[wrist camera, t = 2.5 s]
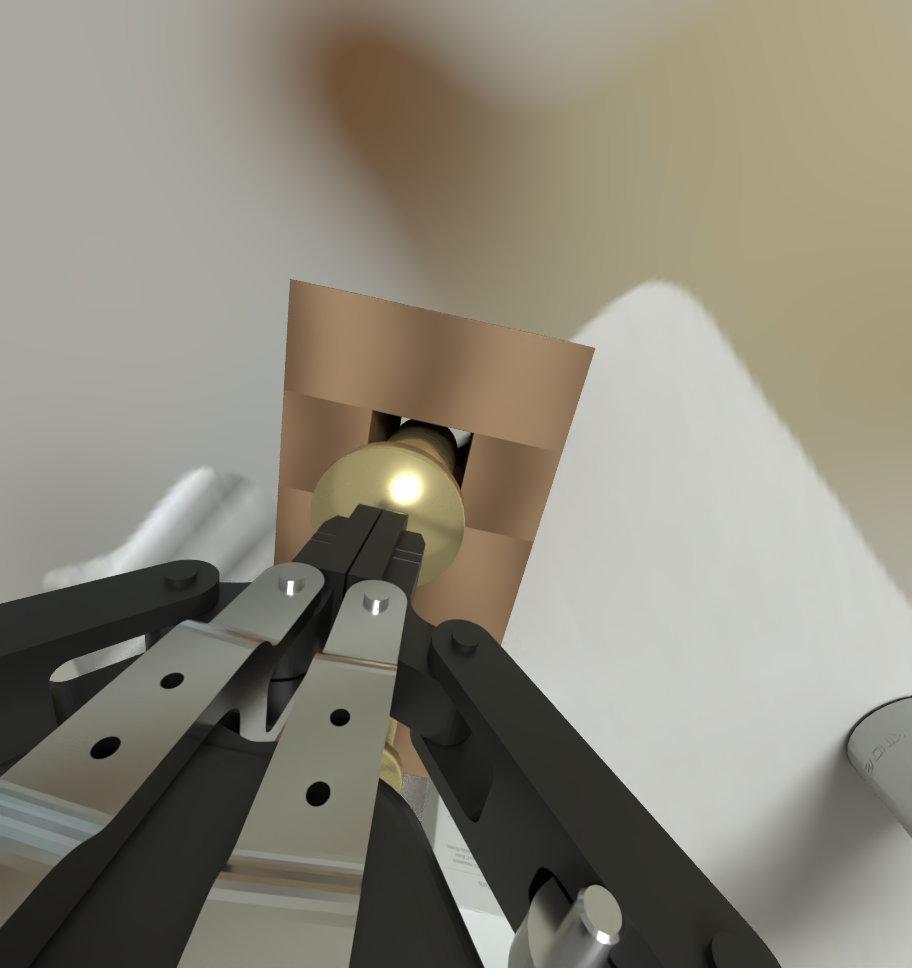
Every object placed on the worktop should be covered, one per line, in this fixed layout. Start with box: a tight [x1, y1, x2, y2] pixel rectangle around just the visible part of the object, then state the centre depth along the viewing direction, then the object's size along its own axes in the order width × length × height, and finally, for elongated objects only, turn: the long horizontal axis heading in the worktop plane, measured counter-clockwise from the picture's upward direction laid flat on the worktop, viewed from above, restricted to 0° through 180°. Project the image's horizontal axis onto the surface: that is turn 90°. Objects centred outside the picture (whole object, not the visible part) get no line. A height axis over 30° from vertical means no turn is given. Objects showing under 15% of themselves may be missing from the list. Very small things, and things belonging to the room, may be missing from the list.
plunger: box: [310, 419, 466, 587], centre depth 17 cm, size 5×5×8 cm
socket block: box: [274, 279, 595, 779], centre depth 25 cm, size 12×26×8 cm, turn 168°
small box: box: [422, 779, 515, 968], centre depth 29 cm, size 8×6×13 cm
